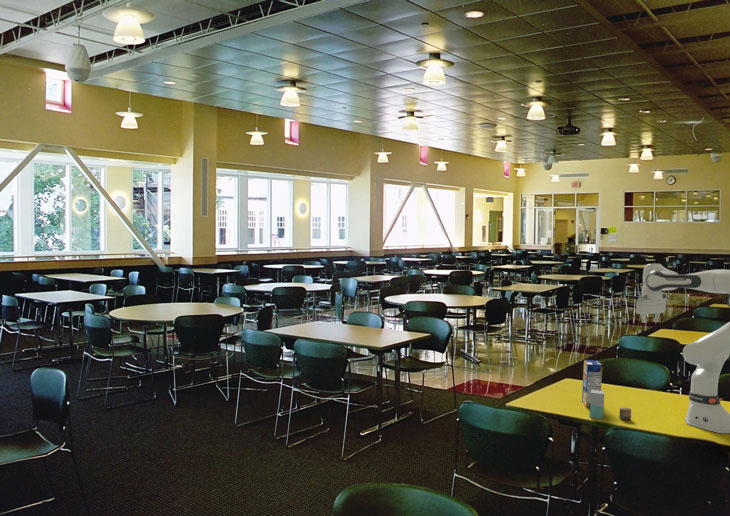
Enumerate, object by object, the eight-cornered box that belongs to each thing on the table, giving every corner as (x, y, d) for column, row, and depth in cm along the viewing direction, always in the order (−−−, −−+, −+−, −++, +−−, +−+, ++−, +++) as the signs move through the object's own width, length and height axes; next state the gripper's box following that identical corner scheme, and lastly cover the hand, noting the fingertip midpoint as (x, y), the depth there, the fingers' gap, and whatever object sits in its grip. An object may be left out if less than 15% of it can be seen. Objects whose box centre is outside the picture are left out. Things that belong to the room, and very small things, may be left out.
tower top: (603, 403, 299) (604, 391, 299) (603, 406, 293) (604, 394, 293) (590, 401, 301) (591, 389, 301) (590, 404, 296) (590, 392, 295)
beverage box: (585, 407, 312) (588, 364, 311) (581, 401, 323) (584, 359, 322) (600, 408, 311) (602, 365, 310) (595, 402, 322) (597, 360, 321)
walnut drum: (633, 420, 293) (633, 410, 293) (625, 421, 291) (625, 411, 291) (624, 417, 298) (625, 407, 297) (616, 418, 296) (617, 408, 295)
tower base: (603, 415, 299) (603, 403, 299) (603, 419, 294) (603, 406, 293) (589, 413, 301) (590, 401, 301) (589, 417, 296) (590, 404, 296)
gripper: (644, 296, 306) (643, 324, 307) (668, 295, 317) (667, 322, 318) (633, 295, 311) (631, 322, 312) (657, 293, 322) (656, 320, 323)
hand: (650, 322), depth 315 cm, fingers open, 8 cm apart
